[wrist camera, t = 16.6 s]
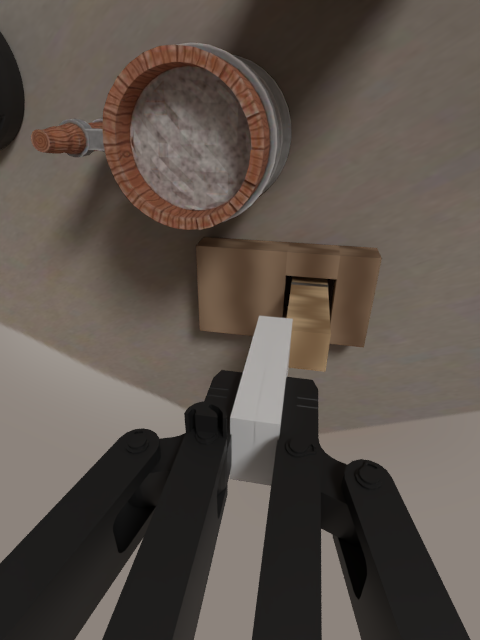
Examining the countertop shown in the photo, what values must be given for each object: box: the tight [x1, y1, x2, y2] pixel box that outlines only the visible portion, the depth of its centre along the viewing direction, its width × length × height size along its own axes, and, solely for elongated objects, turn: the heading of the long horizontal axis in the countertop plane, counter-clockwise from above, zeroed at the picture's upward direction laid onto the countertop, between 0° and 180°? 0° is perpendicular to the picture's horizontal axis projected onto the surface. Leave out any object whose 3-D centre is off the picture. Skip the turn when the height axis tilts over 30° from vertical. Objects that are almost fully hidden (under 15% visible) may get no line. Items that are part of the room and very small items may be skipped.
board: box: [196, 237, 382, 347], centre depth 45 cm, size 20×11×4 cm, turn 89°
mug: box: [31, 43, 291, 230], centre depth 34 cm, size 14×19×15 cm
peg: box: [287, 276, 331, 372], centre depth 40 cm, size 4×4×14 cm
